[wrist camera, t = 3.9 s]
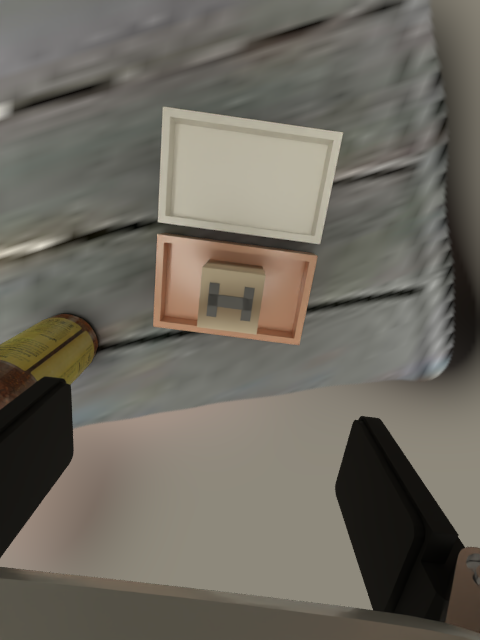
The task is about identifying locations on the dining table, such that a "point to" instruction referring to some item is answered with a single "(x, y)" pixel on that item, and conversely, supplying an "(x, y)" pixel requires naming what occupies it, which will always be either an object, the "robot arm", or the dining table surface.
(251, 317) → the letter cube
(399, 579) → the robot arm
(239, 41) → the dining table surface
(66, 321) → the sauce bottle
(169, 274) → the tray
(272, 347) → the dining table surface
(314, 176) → the tray
